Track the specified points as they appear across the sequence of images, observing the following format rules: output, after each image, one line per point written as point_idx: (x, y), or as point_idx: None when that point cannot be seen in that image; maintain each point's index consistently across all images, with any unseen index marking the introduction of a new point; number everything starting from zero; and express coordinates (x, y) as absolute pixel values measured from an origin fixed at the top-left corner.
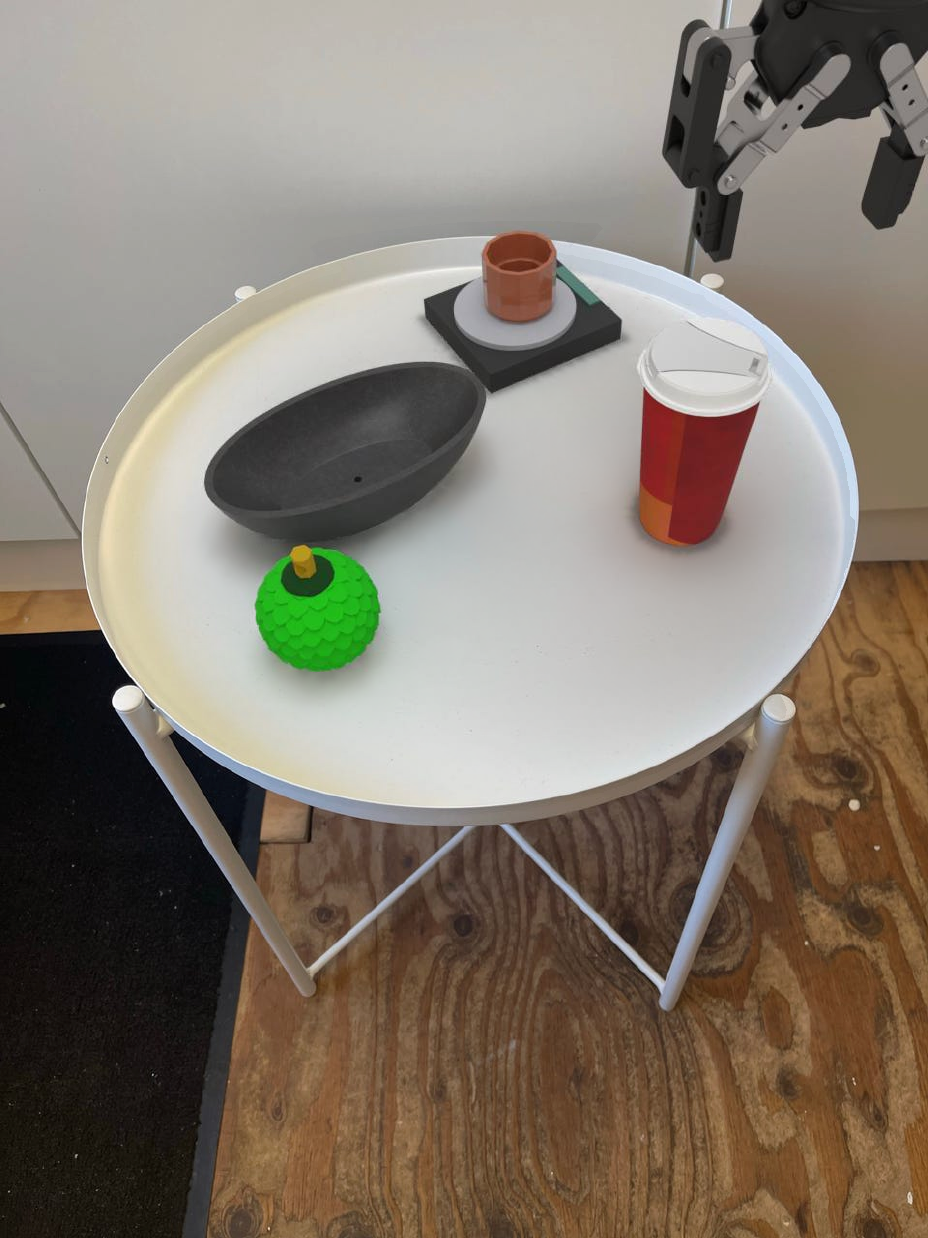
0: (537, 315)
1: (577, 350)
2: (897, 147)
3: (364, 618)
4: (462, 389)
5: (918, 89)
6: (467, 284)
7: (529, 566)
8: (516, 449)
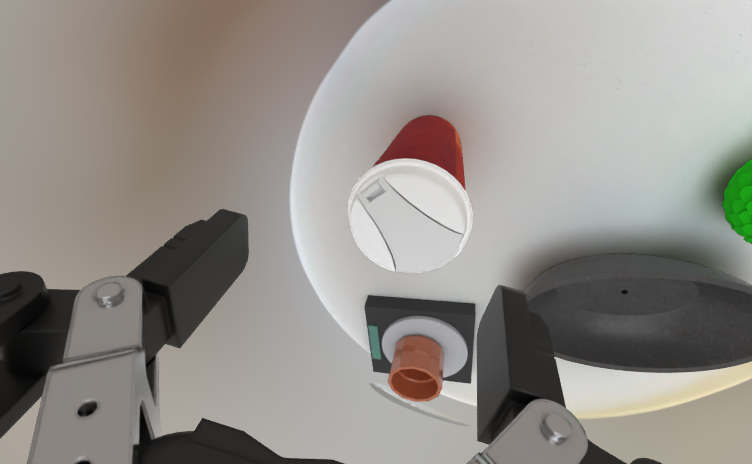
0: (418, 337)
1: (402, 301)
2: (164, 316)
3: None
4: None
5: (48, 439)
6: None
7: (562, 163)
8: (492, 257)
